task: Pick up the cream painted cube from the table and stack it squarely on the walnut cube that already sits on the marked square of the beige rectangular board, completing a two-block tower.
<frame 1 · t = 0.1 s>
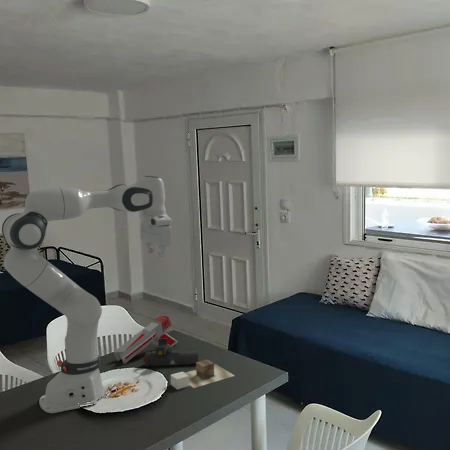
hand: (156, 254, 197), 48 cm above the table, fingers open, 8 cm apart
toy gun: (148, 354, 226), on the table
laser sight: (171, 366, 212), on the table
beige rectangular board: (205, 377, 198), on the table
walnut block: (205, 375, 198), point 1 cm above the table, touching beige rectangular board
cream block: (180, 388, 190), on the table
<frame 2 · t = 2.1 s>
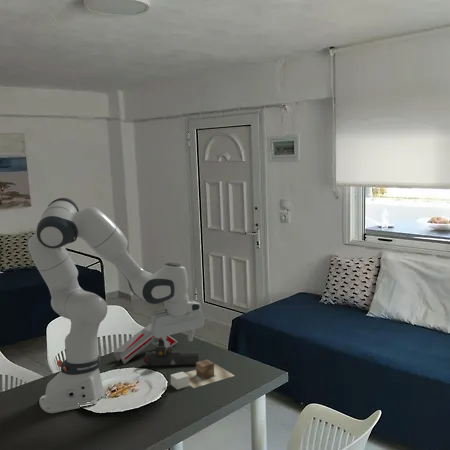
hand: (179, 343, 188), 17 cm above the table, fingers open, 8 cm apart
nothing on the table moved.
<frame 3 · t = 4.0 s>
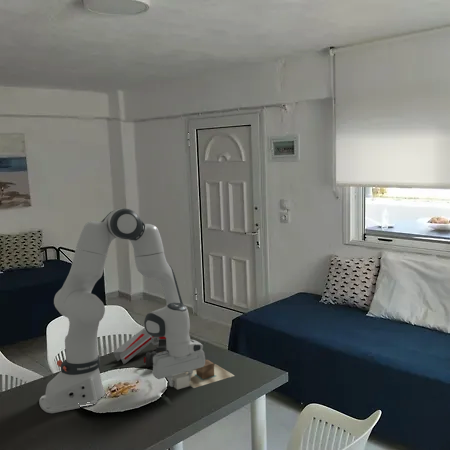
hand: (180, 383, 190), 2 cm above the table, fingers closed on cream block, 5 cm apart
cream block: (180, 388, 190), on the table, touching gripper
everything else where it was.
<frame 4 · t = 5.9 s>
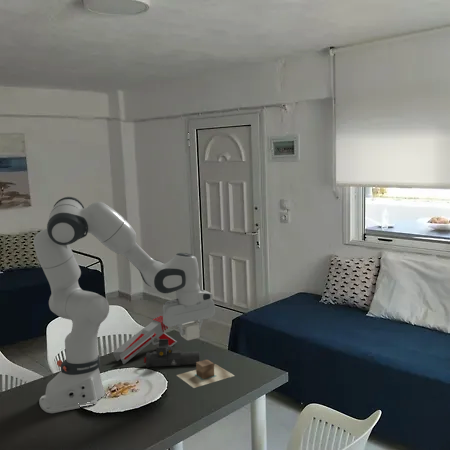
hand: (190, 332, 191), 20 cm above the table, fingers closed on cream block, 5 cm apart
cream block: (190, 337, 191), point 18 cm above the table, touching gripper
everything else where it was.
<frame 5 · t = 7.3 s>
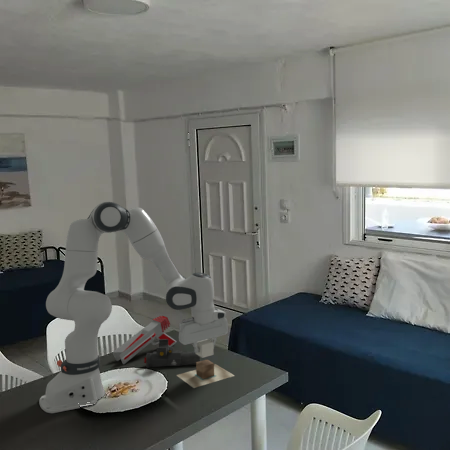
hand: (204, 350, 197), 11 cm above the table, fingers closed on cream block, 5 cm apart
cream block: (204, 354, 198), point 9 cm above the table, touching gripper
everything else where it was.
when the fingers open (9 cm above the table, at t = 8.1 s): cream block stays where it is, resting on walnut block.
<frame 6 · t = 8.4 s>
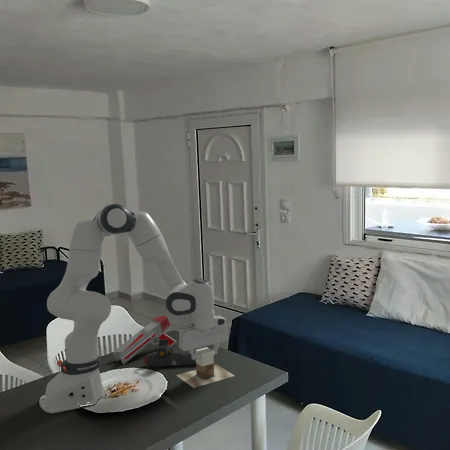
hand: (204, 356, 197), 9 cm above the table, fingers open, 8 cm apart
walnut block: (205, 375, 198), point 1 cm above the table, touching beige rectangular board, cream block
cream block: (204, 362, 198), point 6 cm above the table, touching walnut block
everything else where it was.
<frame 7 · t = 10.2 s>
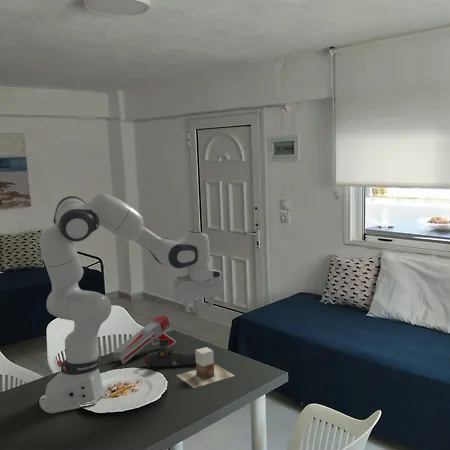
hand: (199, 309, 196), 27 cm above the table, fingers open, 8 cm apart
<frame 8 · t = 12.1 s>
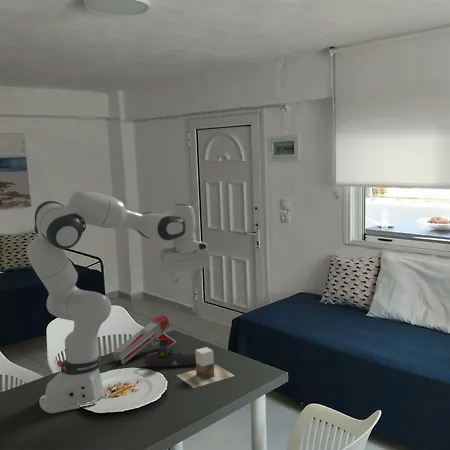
hand: (186, 281, 198), 37 cm above the table, fingers open, 8 cm apart
at the end: cream block 0.1 cm off-centre on the walnut block, point 5.0 cm above the walnut block's base; cream block tilted 0°; walnut block 0.0 cm off-centre on the beige rectangular board, point 1.0 cm above the beige rectangular board's base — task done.
